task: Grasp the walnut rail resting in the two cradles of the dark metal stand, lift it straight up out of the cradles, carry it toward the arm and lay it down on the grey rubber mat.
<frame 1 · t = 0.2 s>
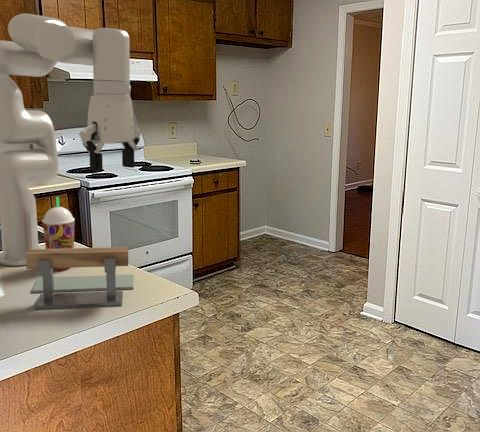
hand: (112, 169, 110), 31 cm above the table, tool pointing down, fingers open, 9 cm apart
rail: (79, 264, 114), point 9 cm above the table, touching stand
stand: (80, 301, 116), on the table
smoothie: (60, 267, 138), on the table
mat: (85, 284, 126), on the table
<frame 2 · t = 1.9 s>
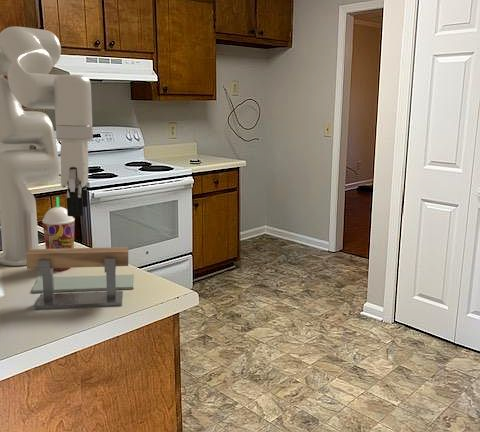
hand: (78, 211, 110), 22 cm above the table, tool pointing down, fingers open, 9 cm apart
nothing on the table moved.
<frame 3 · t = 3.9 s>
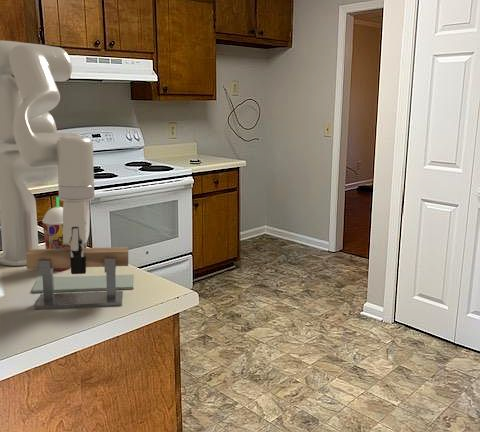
hand: (79, 269, 114), 8 cm above the table, tool pointing down, fingers closed on rail, 3 cm apart
rail: (79, 264, 114), point 9 cm above the table, touching gripper, stand
everything else where it was.
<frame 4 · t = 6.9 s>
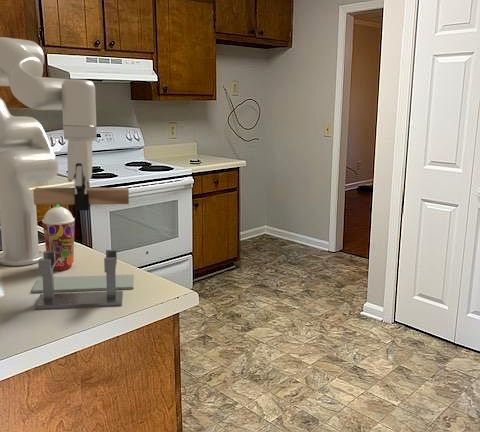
hand: (82, 207, 122), 20 cm above the table, tool pointing down, fingers closed on rail, 3 cm apart
rail: (82, 202, 121), point 21 cm above the table, touching gripper
everything else where it was.
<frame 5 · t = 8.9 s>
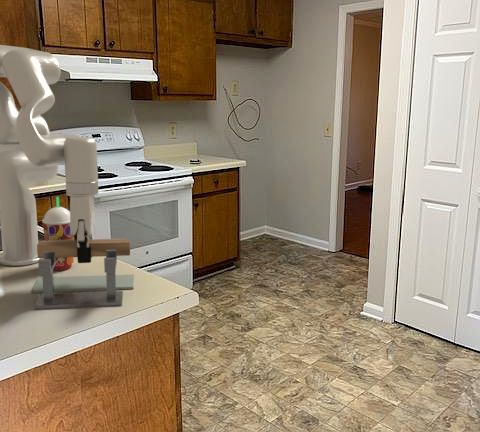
hand: (85, 259, 124), 7 cm above the table, tool pointing down, fingers closed on rail, 3 cm apart
rail: (85, 254, 124), point 8 cm above the table, touching gripper
everything else where it was.
when the fingers open (1 cm above the table, at t = 10.4 s): rail drops 2 cm, resting on mat.
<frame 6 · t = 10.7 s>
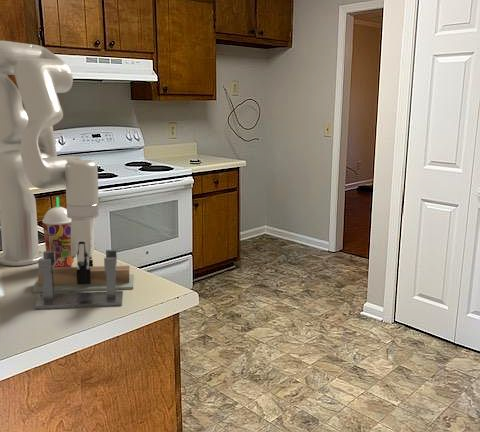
hand: (85, 278, 126), 2 cm above the table, tool pointing down, fingers open, 6 cm apart
rail: (85, 282, 126), point 1 cm above the table, touching mat
everything else where it was.
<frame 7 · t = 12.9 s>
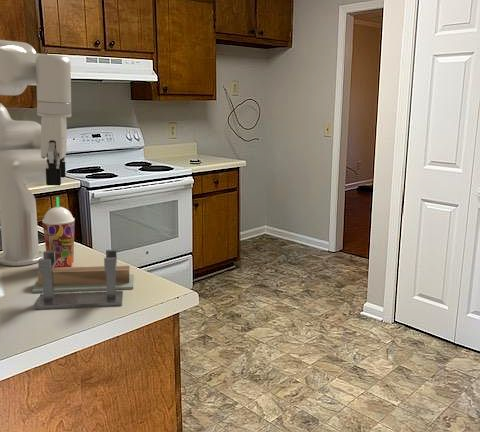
hand: (56, 180, 121), 26 cm above the table, tool pointing down, fingers open, 9 cm apart
nothing on the table moved.
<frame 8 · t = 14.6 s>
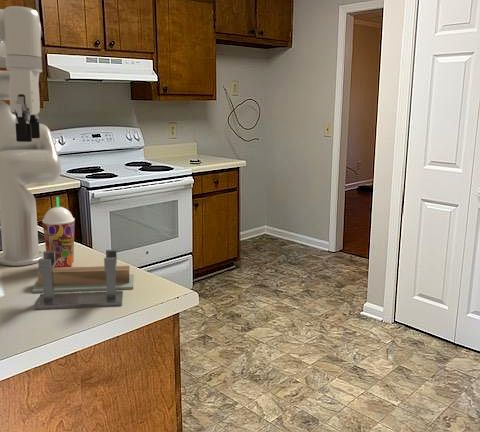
hand: (28, 139, 117), 36 cm above the table, tool pointing down, fingers open, 9 cm apart
nothing on the table moved.
at the end: rail inside the target area on the mat (0.1 cm from its centre), point 0.6 cm above the mat's base; rail touching mat; the gripper is holding nothing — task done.
